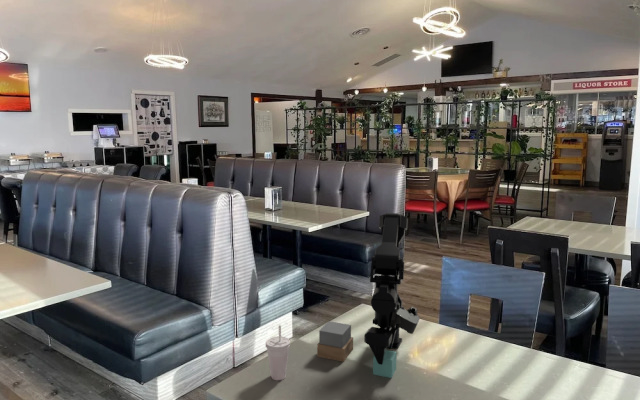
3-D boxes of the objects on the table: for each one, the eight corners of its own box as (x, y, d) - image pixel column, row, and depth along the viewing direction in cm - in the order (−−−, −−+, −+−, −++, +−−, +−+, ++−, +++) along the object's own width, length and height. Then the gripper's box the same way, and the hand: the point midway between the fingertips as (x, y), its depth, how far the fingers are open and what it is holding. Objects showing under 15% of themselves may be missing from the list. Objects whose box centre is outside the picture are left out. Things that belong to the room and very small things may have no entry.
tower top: (328, 333, 138) (328, 321, 137) (350, 338, 135) (351, 324, 134) (319, 343, 131) (319, 330, 131) (342, 348, 128) (342, 334, 128)
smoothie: (286, 384, 117) (286, 331, 115) (262, 381, 118) (261, 329, 116) (293, 371, 123) (292, 321, 121) (270, 369, 124) (269, 319, 122)
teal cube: (378, 365, 126) (378, 348, 126) (396, 369, 124) (396, 351, 124) (373, 374, 122) (373, 356, 121) (391, 378, 120) (392, 360, 119)
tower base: (327, 345, 139) (327, 332, 138) (353, 350, 136) (353, 337, 135) (317, 357, 132) (317, 344, 131) (344, 362, 128) (344, 349, 128)
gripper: (409, 317, 109) (407, 379, 111) (423, 292, 126) (422, 346, 128) (364, 310, 113) (363, 370, 115) (383, 287, 130) (382, 339, 132)
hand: (385, 356), depth 123 cm, fingers open, 9 cm apart
